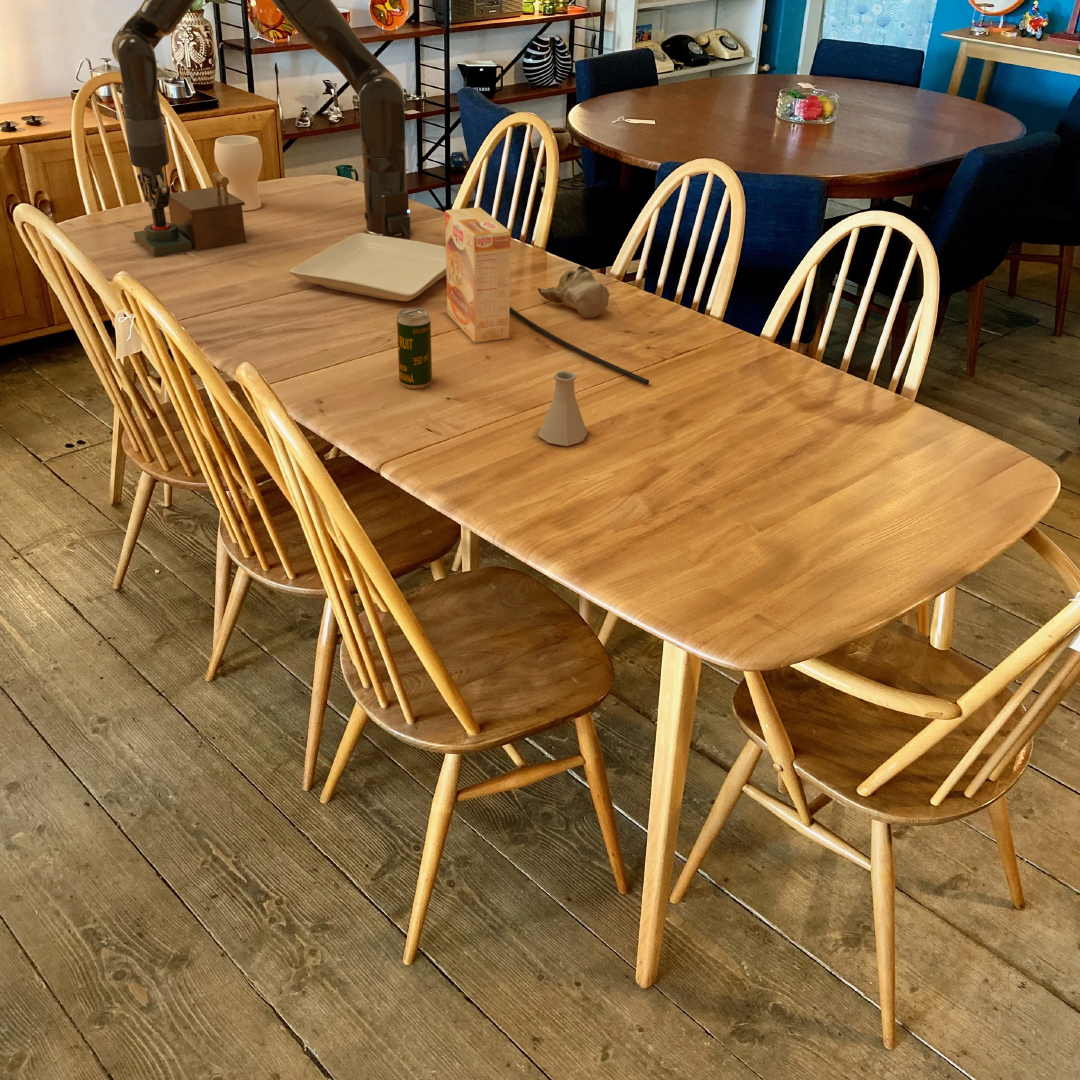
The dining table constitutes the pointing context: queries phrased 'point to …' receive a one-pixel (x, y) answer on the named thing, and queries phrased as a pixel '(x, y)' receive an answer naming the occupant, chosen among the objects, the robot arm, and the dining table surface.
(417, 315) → the green soda can
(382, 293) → the square plate
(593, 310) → the ceramic sculpture
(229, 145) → the cup
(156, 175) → the robot arm
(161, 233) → the green button base
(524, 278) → the dining table surface
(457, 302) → the coffeecake box
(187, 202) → the chest lid
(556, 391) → the flask
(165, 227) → the button
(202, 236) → the chest
